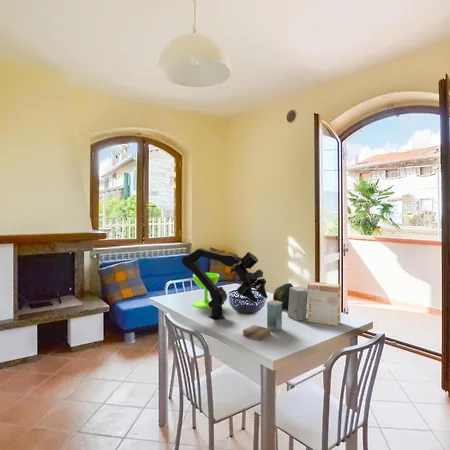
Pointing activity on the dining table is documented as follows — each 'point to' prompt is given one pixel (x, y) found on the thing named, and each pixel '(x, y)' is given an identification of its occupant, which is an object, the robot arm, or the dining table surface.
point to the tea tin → (274, 315)
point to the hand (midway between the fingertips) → (262, 299)
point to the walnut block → (256, 332)
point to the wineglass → (205, 302)
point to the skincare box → (297, 303)
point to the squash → (283, 294)
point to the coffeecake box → (324, 303)
